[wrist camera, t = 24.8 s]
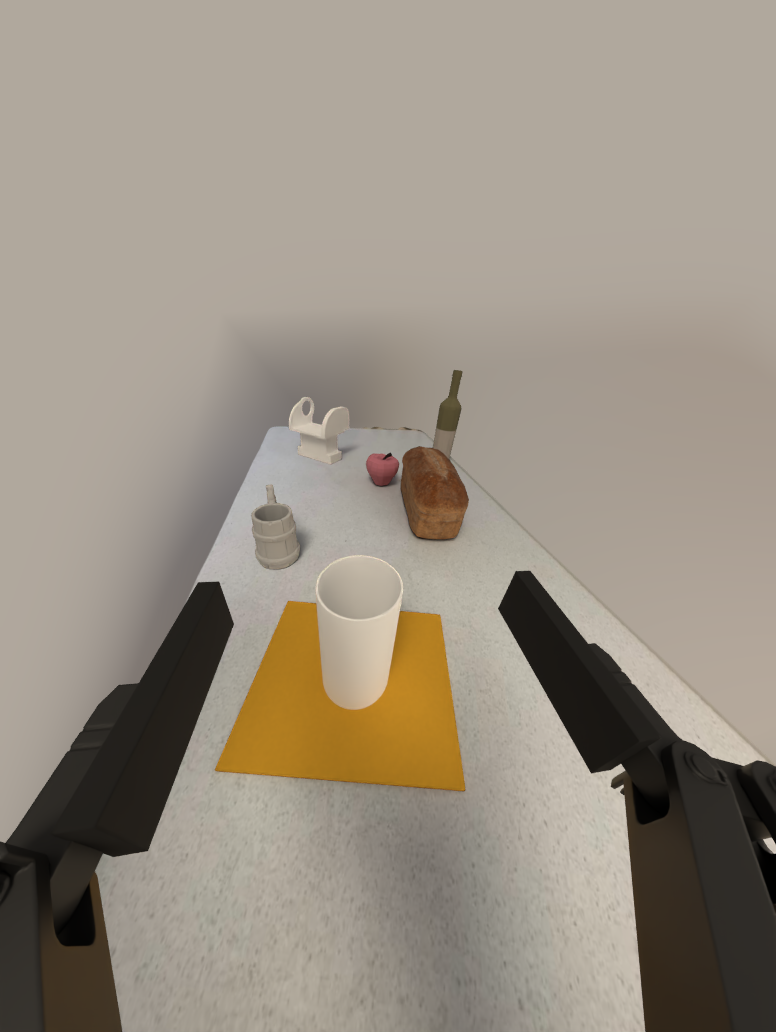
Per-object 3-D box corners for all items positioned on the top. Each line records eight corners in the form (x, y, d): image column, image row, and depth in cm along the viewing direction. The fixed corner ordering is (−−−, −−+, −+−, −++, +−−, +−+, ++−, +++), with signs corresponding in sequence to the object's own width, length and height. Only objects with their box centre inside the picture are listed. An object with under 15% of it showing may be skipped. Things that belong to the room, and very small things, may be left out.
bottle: (426, 459, 102) (442, 368, 85) (443, 459, 103) (462, 370, 87) (434, 466, 96) (452, 371, 80) (452, 466, 98) (473, 373, 82)
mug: (256, 574, 47) (243, 516, 40) (257, 534, 56) (246, 482, 50) (302, 566, 50) (296, 510, 43) (296, 529, 59) (290, 478, 52)
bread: (435, 487, 82) (445, 440, 75) (463, 546, 59) (482, 486, 51) (396, 485, 81) (401, 437, 73) (409, 544, 58) (419, 483, 50)
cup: (323, 645, 37) (317, 556, 28) (383, 639, 38) (395, 553, 30) (320, 714, 30) (311, 625, 22) (393, 704, 32) (412, 617, 23)
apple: (388, 476, 86) (391, 445, 81) (402, 488, 80) (406, 455, 74) (360, 479, 82) (361, 447, 77) (372, 493, 76) (374, 458, 70)
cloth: (215, 771, 26) (214, 769, 26) (288, 602, 43) (287, 600, 43) (464, 791, 26) (465, 790, 26) (439, 616, 43) (440, 614, 43)
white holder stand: (292, 456, 92) (286, 399, 83) (317, 447, 102) (314, 395, 93) (326, 467, 87) (323, 408, 78) (348, 456, 97) (349, 402, 88)
